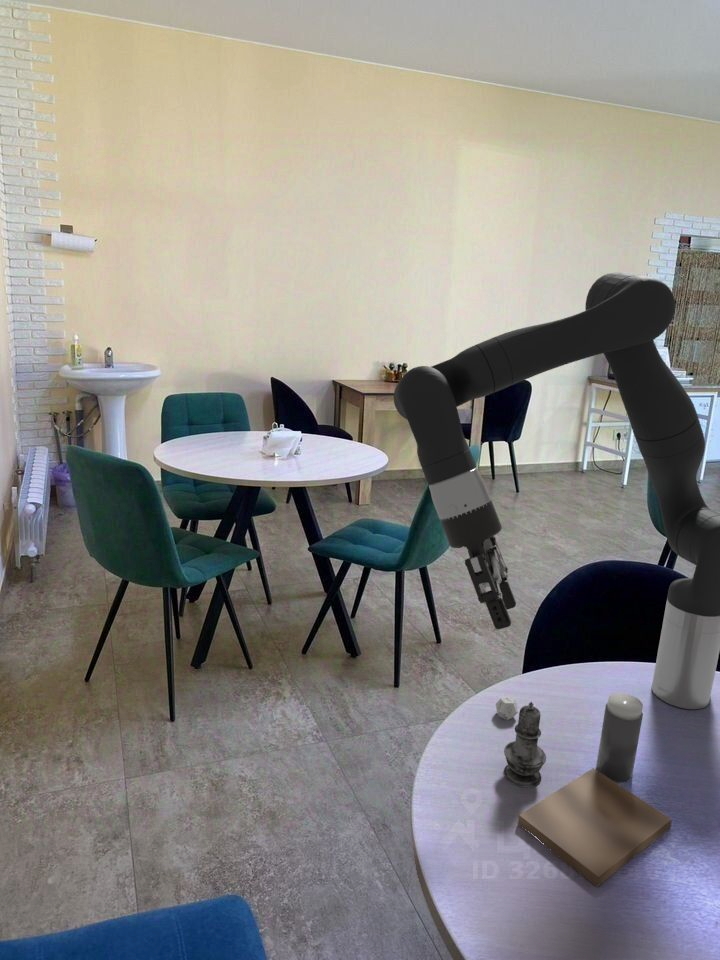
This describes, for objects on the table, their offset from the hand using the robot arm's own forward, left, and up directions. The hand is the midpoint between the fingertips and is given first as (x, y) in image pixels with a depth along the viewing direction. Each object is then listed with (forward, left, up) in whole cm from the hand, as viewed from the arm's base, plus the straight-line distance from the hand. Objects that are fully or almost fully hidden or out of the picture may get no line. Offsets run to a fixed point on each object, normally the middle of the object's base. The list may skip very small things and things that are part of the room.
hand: (507, 617), depth 97 cm
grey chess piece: (-2, +4, -24) cm, 24 cm away
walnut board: (-2, +16, -24) cm, 29 cm away
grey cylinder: (-14, +11, -24) cm, 29 cm away
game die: (-11, -7, -24) cm, 27 cm away
